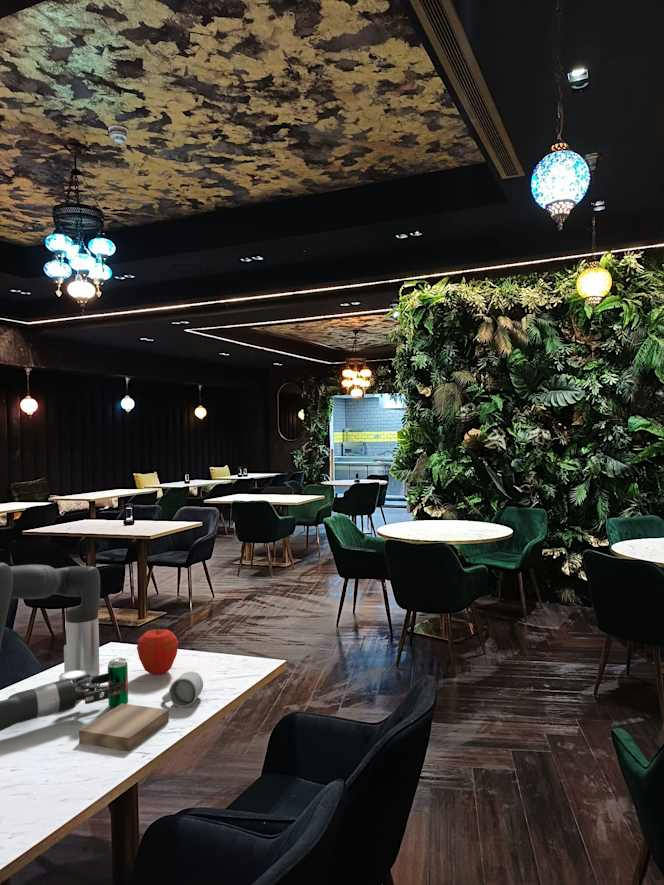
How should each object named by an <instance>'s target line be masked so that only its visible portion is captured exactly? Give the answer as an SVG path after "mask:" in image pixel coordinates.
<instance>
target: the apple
mask: <svg viewBox="0 0 664 885" xmlns="http://www.w3.org/2000/svg"><path fill="white" fill-rule="evenodd" d="M178 649H179V642H178V638H177V636H176V635H175V634H174V633H173V631H171V630H169V629H159V628H158V627H157V629H151V630H147V631H146V632H144V633H143V634H142V635H141V636H140V637H139V640H138V643H137V646H136V650H137V655H138V660H139V661H140V663H141V665H142V667H143V669H144V671H146V672H147V673H149V674H150V675H152V676H162V675H167V673H168V672H169V671H170V670H171V669H172V667H173V665H174V662H175V659H176V657H177V653H178Z"/></svg>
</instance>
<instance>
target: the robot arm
mask: <svg viewBox="0 0 664 885" xmlns="http://www.w3.org/2000/svg"><path fill="white" fill-rule="evenodd" d="M52 595H57V596H58V595H59V596H64V597H71V598H72V597H73V598H81V600H80V601H81V602H80V605H78V606H75V607H72V608H69V609H68V610H67V611H66V612H65V613H66V614H65V632H66V633H65V634H66V636H65V637H66V644H64V646H63V665H64V666H63V667H64V672H68V671H72V670H83V671H85V672H86V675H84V676H80V677H77V678H73V679H65V680H61V681H60V680H57V681H53V682H50V683H45V684H43V685H39V686H36V687H34V688H30V689H26V690H23V691H18V692H16V693H12V694H11V695H10V696H8V697H7V699H3V700H0V732H1V731H3V730H7V729H8V728H11V727H12V726H13V725H16V724H19V723H24V722H27V721H32V720H34V719H35V720H36V719H39V718H44V717H48V716H52V715H55V714H59V713H63V712H66V711H69V710H72V709H74V708H75V707H76V704H77V703H78V702H77V701H78V700H81V701H84V704H85V705H90V704H93V703H96V702H100V701H105V700H108V698H109V694H111V693H114V692H118V691H121V690H122V689H123V683H122V682H116V683H113V684H109V685H108V684H106V683H108V672H107V673H102V674H100V634H99V632H100V629H99V610H100V604H101V603H100V602H101V601H100V600H101V598H100V597H101V575H100V571H99V569H98V567H95V566H89V565H88V566H87V565H86V566H83V565H81V566H80V565H75V566H65V567H61V568H60V567H59V568H54V567H52V566H51V565H46V564H21V565H12V566H9V564H7V563H5V562H0V650H1V649H2V640H3V635H4V631H5V626H6V621H7V619H8V618H7V617H8V612H9V607H10V602H11V599H20V600H22V599H23V600H39V599H40V600H41V599H45V598H48V597H51V596H52ZM64 672H63V673H64ZM101 684H102V685H101ZM105 684H106V685H105Z"/></svg>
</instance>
